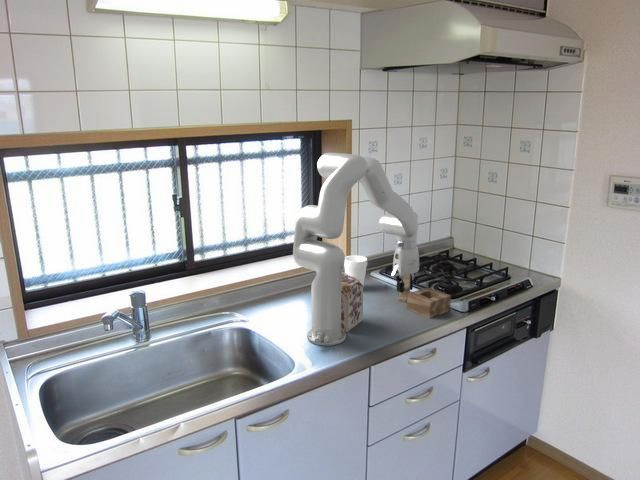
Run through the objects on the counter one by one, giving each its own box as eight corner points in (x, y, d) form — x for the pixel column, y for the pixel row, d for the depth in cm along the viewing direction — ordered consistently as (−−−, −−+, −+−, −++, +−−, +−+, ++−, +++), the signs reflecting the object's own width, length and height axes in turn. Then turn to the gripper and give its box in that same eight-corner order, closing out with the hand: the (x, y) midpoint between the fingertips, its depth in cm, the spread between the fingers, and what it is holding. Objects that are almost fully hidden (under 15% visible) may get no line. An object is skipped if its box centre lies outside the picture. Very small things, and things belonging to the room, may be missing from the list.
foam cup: (366, 285, 216) (367, 255, 212) (366, 293, 207) (367, 262, 203) (344, 285, 216) (344, 255, 213) (342, 292, 208) (342, 261, 204)
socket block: (429, 318, 183) (430, 302, 181) (406, 308, 191) (407, 293, 190) (450, 310, 189) (451, 295, 188) (427, 301, 198) (428, 287, 196)
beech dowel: (409, 302, 197) (410, 272, 194) (398, 302, 198) (399, 272, 195) (409, 298, 201) (410, 269, 198) (398, 298, 202) (400, 268, 199)
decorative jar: (347, 333, 172) (347, 282, 167) (317, 325, 177) (317, 276, 173) (363, 320, 181) (364, 271, 177) (334, 313, 187) (334, 266, 183)
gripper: (397, 250, 186) (396, 298, 191) (429, 242, 196) (426, 288, 200) (383, 245, 192) (381, 292, 196) (414, 238, 201) (412, 283, 206)
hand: (404, 289), depth 198 cm, fingers closed on beech dowel, 4 cm apart
